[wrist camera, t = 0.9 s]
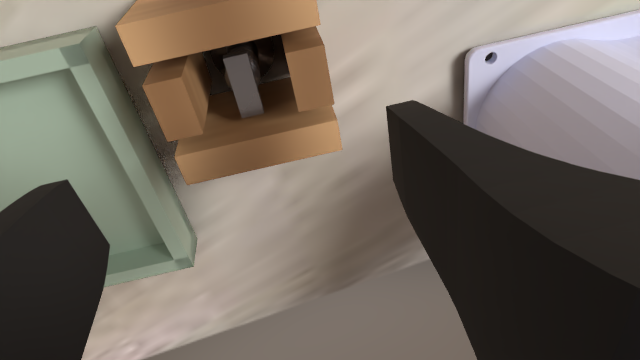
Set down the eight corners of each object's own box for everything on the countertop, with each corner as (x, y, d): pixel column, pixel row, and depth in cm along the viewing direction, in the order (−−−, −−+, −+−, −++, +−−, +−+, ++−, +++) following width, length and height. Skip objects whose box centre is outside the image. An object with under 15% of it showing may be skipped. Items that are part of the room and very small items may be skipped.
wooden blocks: (288, -92, 15) (302, -80, 11) (323, 96, 19) (342, 149, 15) (127, -56, 15) (88, -33, 11) (198, 125, 19) (186, 185, 15)
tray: (96, 26, 16) (79, 43, 15) (197, 238, 23) (193, 266, 21) (-171, 86, 16) (-217, 110, 14) (7, 281, 23) (-11, 313, 21)
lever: (264, 11, 17) (269, 38, 14) (280, 72, 18) (286, 108, 15) (203, 24, 17) (195, 55, 14) (223, 85, 18) (219, 123, 15)
